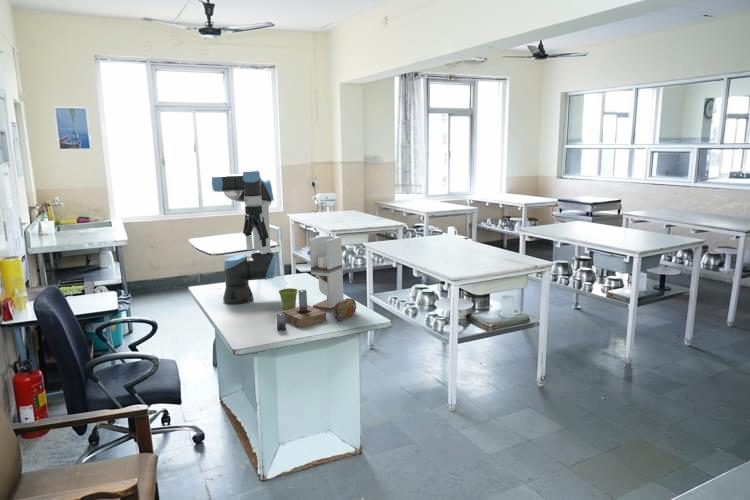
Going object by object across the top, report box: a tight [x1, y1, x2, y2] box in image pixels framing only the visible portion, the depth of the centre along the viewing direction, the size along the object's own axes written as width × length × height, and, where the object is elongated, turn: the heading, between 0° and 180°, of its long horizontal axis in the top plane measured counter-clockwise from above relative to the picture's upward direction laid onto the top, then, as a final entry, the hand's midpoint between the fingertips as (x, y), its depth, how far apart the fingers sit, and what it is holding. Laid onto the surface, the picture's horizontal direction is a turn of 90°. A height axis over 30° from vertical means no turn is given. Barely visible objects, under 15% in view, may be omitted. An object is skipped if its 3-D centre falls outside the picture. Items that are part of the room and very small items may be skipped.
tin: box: [333, 297, 357, 322], centre depth 244 cm, size 15×3×8 cm, turn 148°
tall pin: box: [297, 289, 308, 314], centre depth 241 cm, size 4×4×14 cm
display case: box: [308, 234, 345, 313], centre depth 257 cm, size 11×11×35 cm
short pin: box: [276, 312, 287, 332], centre depth 230 cm, size 4×4×7 cm
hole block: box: [281, 304, 327, 329], centre depth 242 cm, size 16×14×4 cm
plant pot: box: [278, 287, 299, 310], centre depth 262 cm, size 9×9×9 cm
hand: (256, 251), depth 241 cm, fingers open, 13 cm apart
